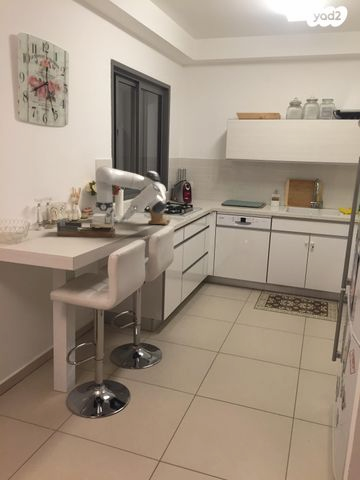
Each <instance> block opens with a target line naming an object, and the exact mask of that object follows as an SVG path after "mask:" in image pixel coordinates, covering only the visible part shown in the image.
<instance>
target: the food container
mask: <svg viewBox="0 0 360 480" xmlns="http://www.w3.org/2000/svg"><path fill="white" fill-rule="evenodd" d="M105 214H106V222H110V214H109V213H105ZM115 215H116V214H115ZM115 215H114V217H115ZM115 218H116V217H115ZM99 228H108V227H99ZM112 228H114V226H113V227H112Z"/></svg>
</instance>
